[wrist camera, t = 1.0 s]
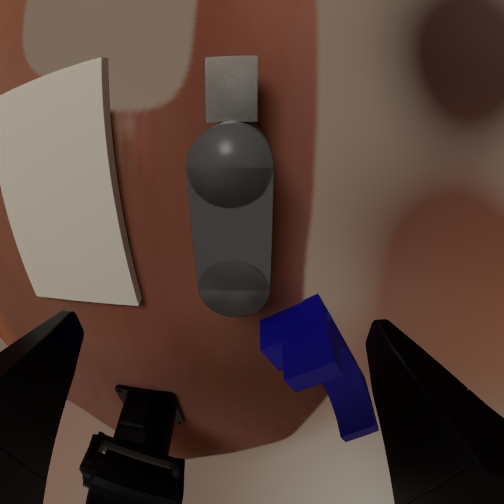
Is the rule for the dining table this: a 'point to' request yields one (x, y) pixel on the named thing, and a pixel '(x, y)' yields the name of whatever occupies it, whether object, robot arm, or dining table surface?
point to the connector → (232, 192)
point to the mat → (66, 186)
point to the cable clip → (319, 362)
